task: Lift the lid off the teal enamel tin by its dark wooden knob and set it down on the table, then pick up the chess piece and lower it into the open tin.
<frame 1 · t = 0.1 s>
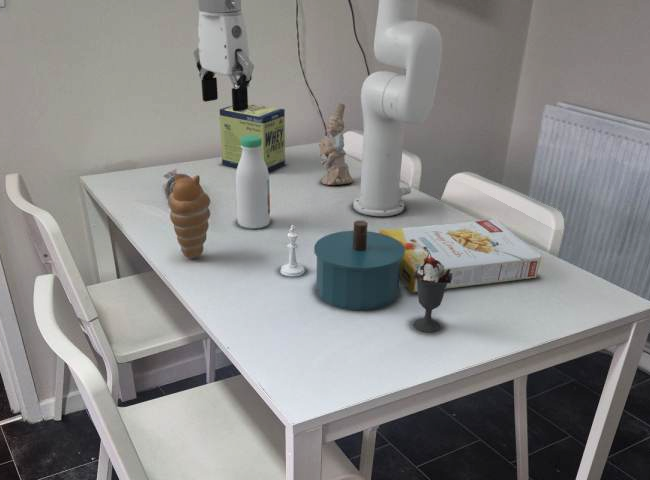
hand: (225, 105, 136), 31 cm above the table, tool pointing down, fingers open, 9 cm apart
milk bottle: (253, 224, 170), on the table
chess piece: (292, 272, 148), on the table
cereal box: (454, 266, 151), on the table
tin: (357, 291, 141), on the table
figurine: (335, 182, 194), on the table
cat ice cream: (192, 258, 153), on the table
tin lid: (359, 251, 136), point 8 cm above the table, touching tin
sundae: (426, 326, 130), on the table
spaceship: (182, 206, 179), on the table
protein box: (253, 165, 206), on the table
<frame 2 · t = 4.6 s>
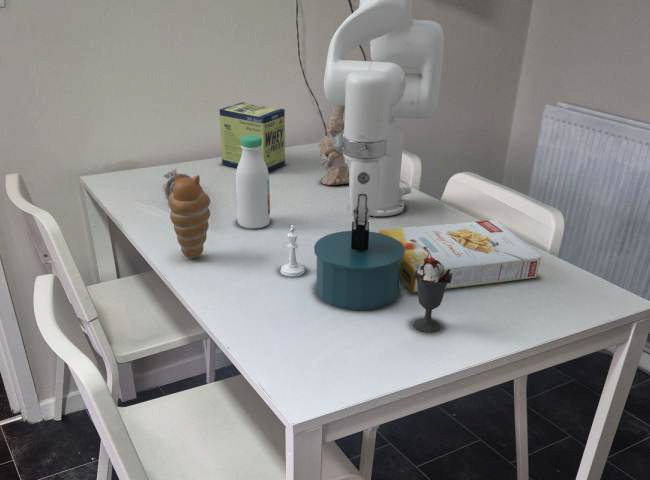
hand: (359, 244, 135), 10 cm above the table, tool pointing down, fingers closed on tin lid, 2 cm apart
tin lid: (359, 251, 136), point 9 cm above the table, touching gripper, tin
everything else where it was.
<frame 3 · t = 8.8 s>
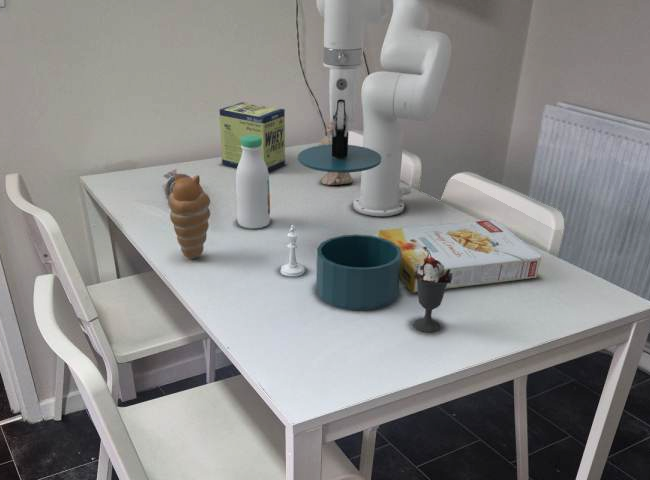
hand: (339, 153, 147), 21 cm above the table, tool pointing down, fingers closed on tin lid, 2 cm apart
tin lid: (339, 159, 148), point 19 cm above the table, touching gripper
everything else where it was.
when the fingers open (2 cm above the table, at t = 13.0 s): tin lid stays where it is, point 1 cm above the table.
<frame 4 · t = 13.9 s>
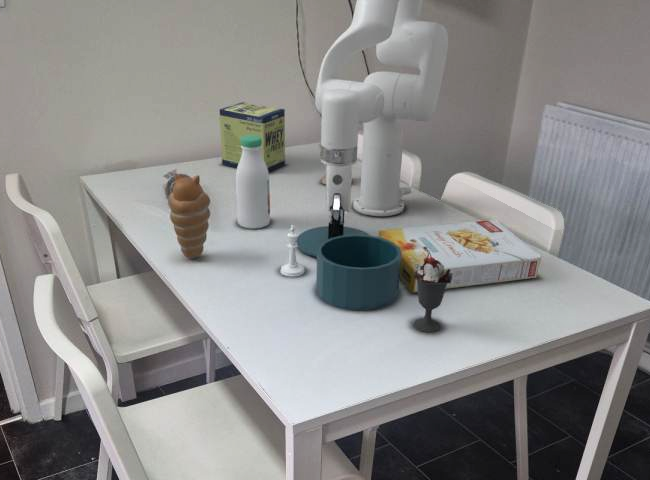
hand: (336, 231, 157), 3 cm above the table, tool pointing down, fingers open, 9 cm apart
tin lid: (335, 243, 159), point 1 cm above the table
everything else where it was.
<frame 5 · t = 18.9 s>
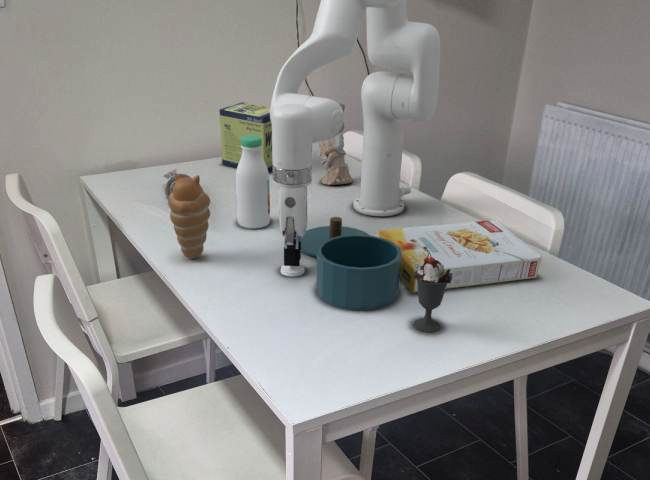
hand: (292, 261, 147), 2 cm above the table, tool pointing down, fingers closed on chess piece
chess piece: (292, 272, 148), on the table, touching gripper
everything else where it was.
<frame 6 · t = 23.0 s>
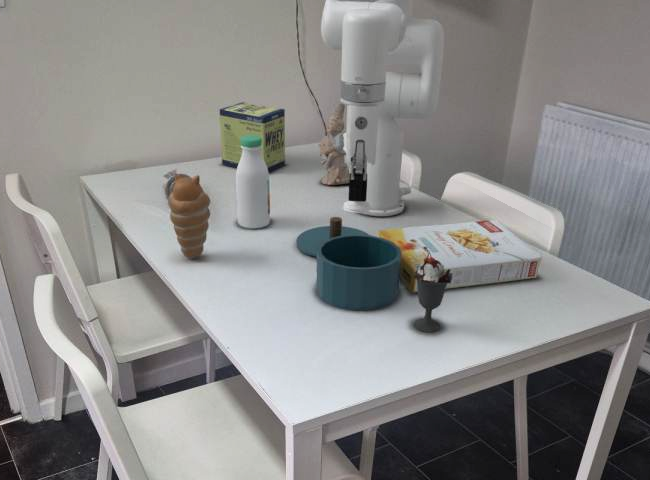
hand: (357, 197, 131), 19 cm above the table, tool pointing down, fingers closed on chess piece
chess piece: (356, 209, 132), point 17 cm above the table, touching gripper
everything else where it was.
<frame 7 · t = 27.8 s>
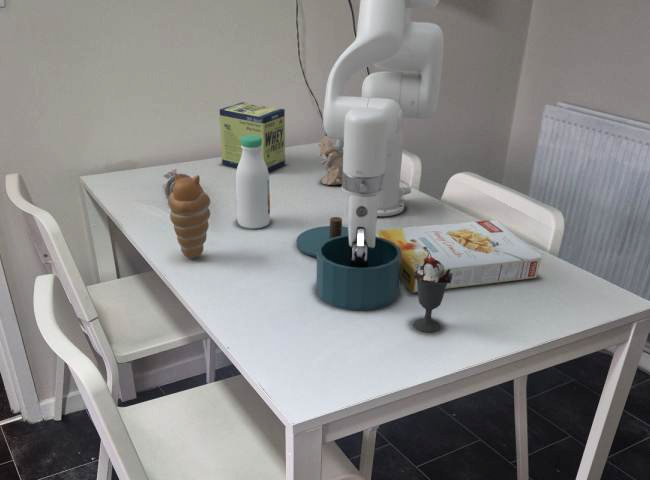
hand: (358, 268, 138), 5 cm above the table, tool pointing down, fingers open, 9 cm apart
chess piece: (357, 289, 141), resting on tin
everything else where it was.
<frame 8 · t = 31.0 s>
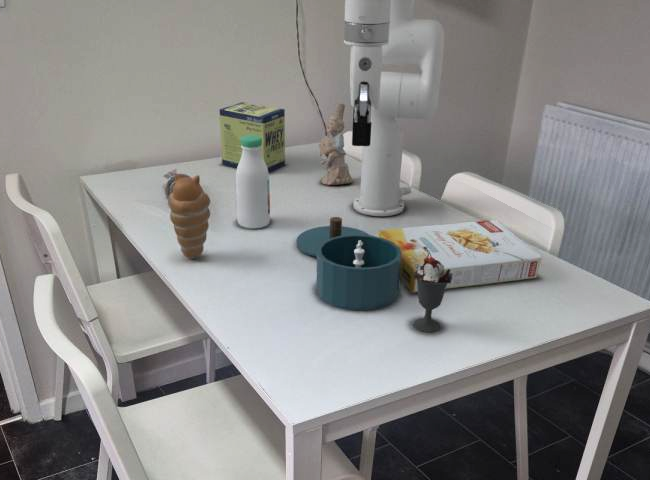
hand: (361, 137, 129), 28 cm above the table, tool pointing down, fingers open, 9 cm apart
nothing on the table moved.
at the end: tin lid inside the target area (0.2 cm from its centre), point 0.6 cm above the table; chess piece inside the target area in the tin (0.1 cm from its centre), point 0.3 cm above the tin's base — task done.
